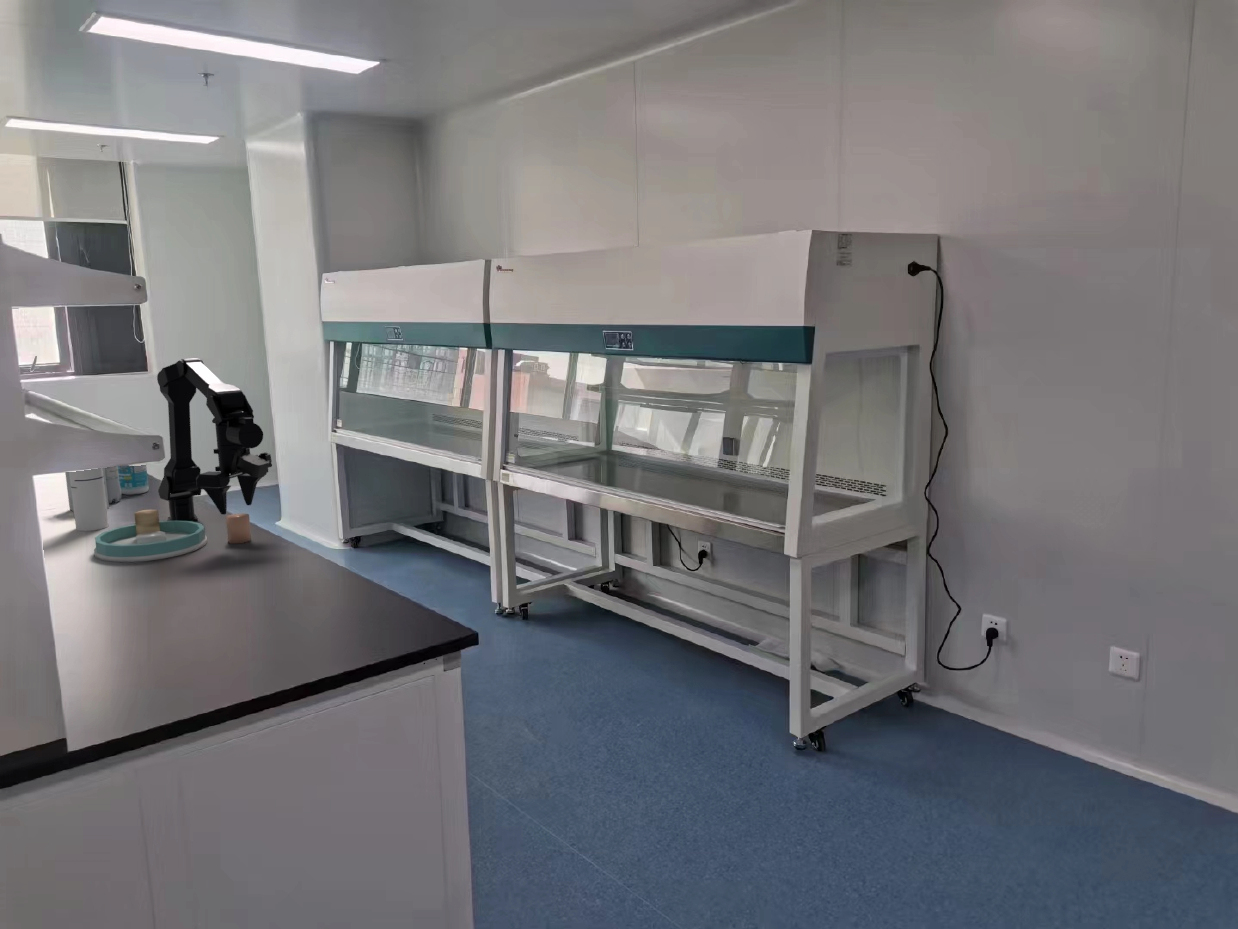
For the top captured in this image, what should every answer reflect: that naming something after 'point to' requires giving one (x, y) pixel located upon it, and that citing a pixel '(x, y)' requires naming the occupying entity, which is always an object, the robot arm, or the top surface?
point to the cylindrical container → (89, 499)
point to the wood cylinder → (147, 521)
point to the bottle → (113, 484)
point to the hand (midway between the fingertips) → (236, 509)
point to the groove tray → (150, 542)
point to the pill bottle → (133, 479)
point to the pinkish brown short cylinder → (238, 528)
